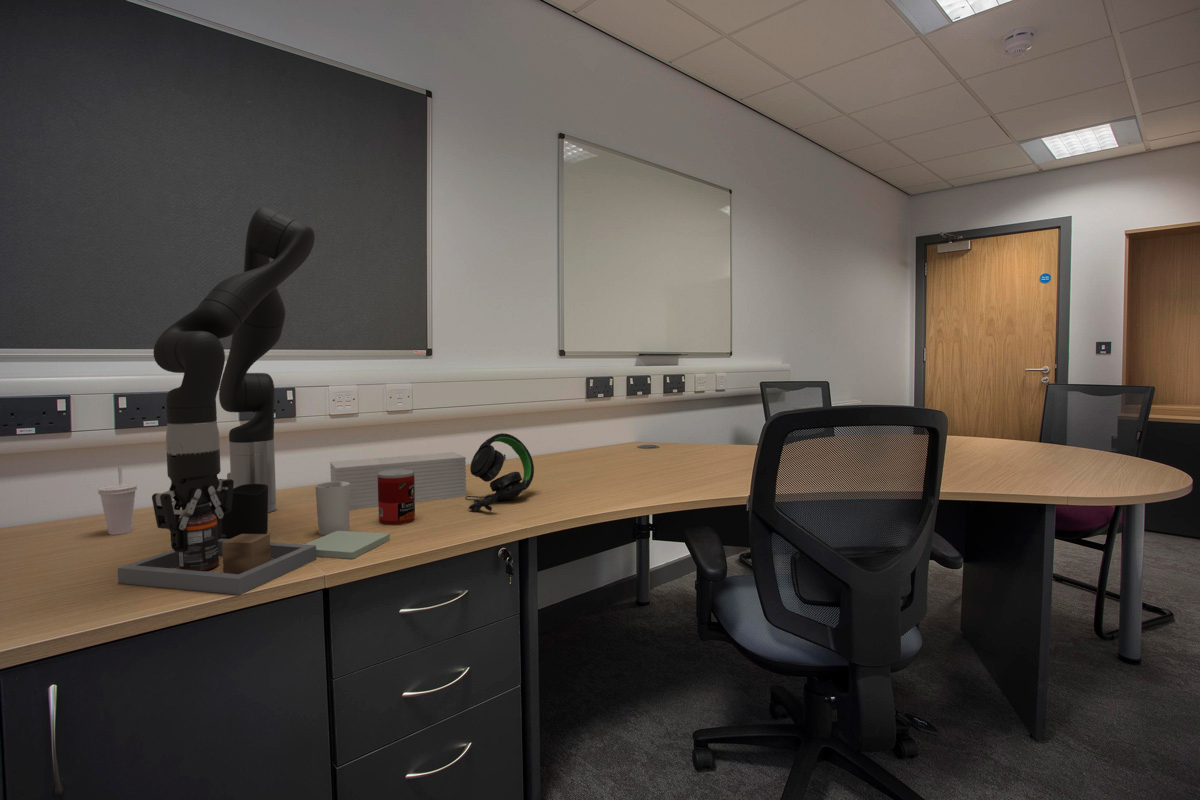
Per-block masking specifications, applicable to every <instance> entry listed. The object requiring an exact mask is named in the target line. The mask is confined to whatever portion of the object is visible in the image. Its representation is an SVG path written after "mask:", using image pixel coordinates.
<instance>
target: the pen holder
mask: <svg viewBox="0 0 1200 800" xmlns="http://www.w3.org/2000/svg"><path fill="white" fill-rule="evenodd" d="M224 505H225V499H223V506H224ZM221 520H222V534H221V539H231V538H233V537H236V536H238V535H240V534H268V530H269V528H268V527H269V525H268V524H269V513H268V485H265V484H245V485H241V486H238V487H236V488H234V489H233V499H232V510H231V512H229V513H226V514H224V515H223V517H222V519H221Z"/></svg>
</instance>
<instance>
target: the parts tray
mask: <svg viewBox="0 0 1200 800" xmlns="http://www.w3.org/2000/svg"><path fill="white" fill-rule="evenodd" d="M227 540H229V539H221V538H220V539H219V540H218V548H219V556H221V555H222V556H223V553H222V542H224V541H227ZM270 552H271V561H269V562H267V563H264V564H262V565H260V566H257V567H255V568H253V569H250V570H248V571H246V572H243V573H241V574H228V573H223V572H213V571H194V570H182V569H178V568H175V567H178V558H177V552H175V551H174V550H173V549H171V550H168V551H165V552H161V553H159V554H155V555H153V556H149V557H147V558H144V559H140V560H138V561H134V562H131V563H129V564H125V565H122V566H119V567H117V581H118V582H117V583H118V584H125V585H133V586H136V585H137V586H145V587H155V588H163V589H175V590H184V591H197V592H205V593H207V592H208V593H216V594H227V595H237V596H240V595H243V594H245V593H246V592H249V591H251V590H253V589H255V588H257V587H260V586H261V585H264V584H266V583H268V582H270V581H273V580H274V579H277V578H279V577H281V576H284V575H286V574H287V572H288V573H289V572H292V571H293V570H296V569H299V568H301V567H302V565H303V566H304V564H305V565H307V564H309V563H311V562H313V561H316V560H317V559H318V558H317V557H318V556H316V545H304V544H301V543H300V544H299V543H288V542H273V541H270Z"/></svg>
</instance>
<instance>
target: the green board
mask: <svg viewBox="0 0 1200 800" xmlns="http://www.w3.org/2000/svg"><path fill="white" fill-rule="evenodd" d="M390 540H391V533H378V532H366V531H350V530H349V531H335V532H333V533H330V534H328V535H322V536H321V537H319V538H317V539H314V540H312V541H309V542H307V543H304V544H303V545H316V557H325V558H334V559H335V558H336V559H348V560H350V559H351V560H353V559H355V558H357V557H360V556H361V555H363V554H365V553H367V552H370V551H372V550H373V549H375V548H377V547H379V546H381V545H382V544H385V543H386V542H389V541H390Z"/></svg>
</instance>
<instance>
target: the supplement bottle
mask: <svg viewBox="0 0 1200 800" xmlns="http://www.w3.org/2000/svg"><path fill="white" fill-rule="evenodd" d="M185 509H186V508H181V510H185ZM179 520H180V517H179ZM179 520H178V522H179ZM185 529H187V542H188V550H187V551H184V552H177V558H178V565H177V569H182V570H194V571H205V572H207V571H209V570H212V569H213V568H216V567H217V566H218V565H219V562H220V555H219V548H218V528H217V517H216V515H215V514H212V513H211V511H210V503H209V502H208V503H204V504H200V505H197V506H195V509H194V512H193V515H192V516H190V517H189V519H188V522H187V525H186V528H185Z"/></svg>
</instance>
